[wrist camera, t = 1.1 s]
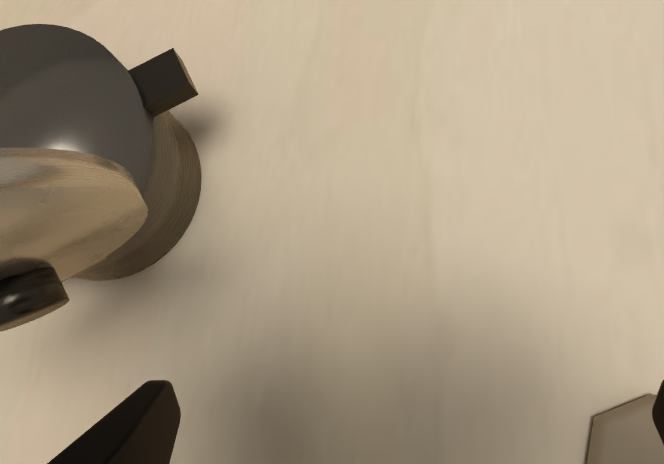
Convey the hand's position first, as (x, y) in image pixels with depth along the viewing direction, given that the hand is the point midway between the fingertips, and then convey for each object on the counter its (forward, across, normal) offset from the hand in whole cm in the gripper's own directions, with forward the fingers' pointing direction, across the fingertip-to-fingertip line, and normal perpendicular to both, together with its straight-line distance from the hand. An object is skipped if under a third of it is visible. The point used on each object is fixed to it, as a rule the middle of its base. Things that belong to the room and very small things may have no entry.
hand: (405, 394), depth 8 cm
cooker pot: (+17, +16, +2) cm, 23 cm away
